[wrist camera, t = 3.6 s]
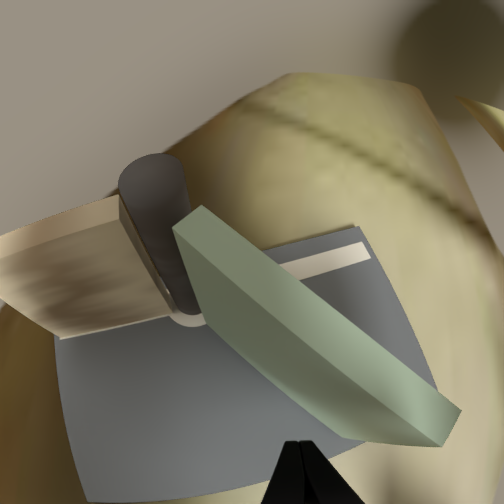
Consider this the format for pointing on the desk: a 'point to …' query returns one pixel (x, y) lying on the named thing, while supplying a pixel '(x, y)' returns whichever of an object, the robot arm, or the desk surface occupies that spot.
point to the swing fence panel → (306, 342)
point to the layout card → (211, 387)
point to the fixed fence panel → (104, 256)
